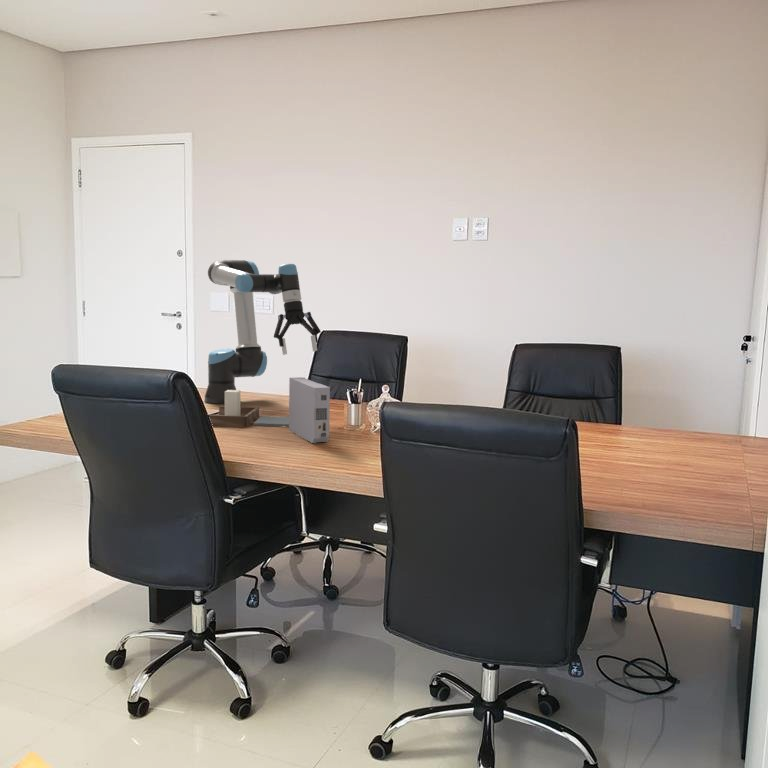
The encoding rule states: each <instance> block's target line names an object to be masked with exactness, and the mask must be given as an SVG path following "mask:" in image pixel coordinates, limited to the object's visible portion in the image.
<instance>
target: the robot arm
mask: <svg viewBox="0 0 768 768" xmlns="http://www.w3.org/2000/svg"><path fill="white" fill-rule="evenodd" d="M297 269H298V268H297V266H296V264H294V263H286V264H281V265H279V266H278V272H277V274H271V273H270V274H269V273H268V274H266V273H265V274H263V273H260V270H259V268H258V266H257V264H256V263H255V262H254V261H249V260H244V259H243V260H242V259H241V260H238V259H220V260H216V261H214V262H212V263H211V264H210V266H209V267H208V270H207V276H208V278H209V281H211V282H212V284H214V285H218V286H229V291H230V292H231V293H233V298H234V308H235V310H234V311H235V318H236V320H235V321H236V331H237V339H238V340H237V342H238V343H237V344H238V345H237V346H236V347H235V349H234V348H223V349H222V348H221V349H217V350H213V351H211V352H210V353H209V354H208V361H207V364H208V367H207V371H208V372H207V373H208V374H207V375H208V376H207V377H208V382H207V383H208V384H207V389H206V390H205V393H204V402H205V403H207V404H225V391H227V390H237V388H236V385H235V384H236V383H235V380H236V379H235V378H247V377H248V378H251V377H252V378H254V377H260V376H262V375H263V374H264V373H265V371H266V369H267V365H268V356H267V354H266V352H265V351H263V350H262V346H261V345H260V344H259V343H258V337H257V326H256V325H257V324H256V317H255V316H256V315H255V314H256V313H255V305H254V304H255V303H254V295H253V294H254V293H269V294H272V295H278V294H281V297H282V302H283V308H284V309H283V310H284V314H283V313H280V314H279V315H278V316H277V319H278V321H277V324H276V328H275V331H274V333H273V338H274V339H278V344H279V347H281V350H282V355H283V356H284V355H288V350H287V343H286V338H284V336H285V335H286V333H287V331H288V329H289V328H290V326H292V325H301V326H303V327H304V328H305V330H306V331H307V332H308V333H310V334H311V335H310V340H311V341H310V342H311V348H312V352H317V351H318V346H317V343H318V334H321V332H322V331H321V329H320V328H319V326H318V325H317V323H316V322H315V320H314V318H313V316H312V314H311V311H308V312H304V307H303V301H301V300H302V295H301V288H300V280H299V273H298V270H297ZM284 320H286V322H285V324H284V326H283V322H284ZM306 320H307V321H308V322H307V321H306ZM282 326H283V328H282ZM281 329H282V330H281Z"/></svg>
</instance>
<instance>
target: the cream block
mask: <svg viewBox="0 0 768 768" xmlns="http://www.w3.org/2000/svg"><path fill="white" fill-rule="evenodd" d="M224 406H225V415H232V416H240V407H241V390H240V389H236V390H227V391H225V403H224Z"/></svg>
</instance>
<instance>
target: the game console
mask: <svg viewBox="0 0 768 768" xmlns="http://www.w3.org/2000/svg"><path fill="white" fill-rule="evenodd" d="M288 385H289V386H288V387H289V390H288V391H289V392H288V393H289V395H288V396H289V397H288V417H289V427H288V430H289V431H290V432H292V433H293V432H294V434H295V433H296V434H295V435H297V436H298V435H299V436H298V437H300V436H301V437H300V438H302V439H303V438H304V439H303V440H305V439H306V440H305V441H307V440H308V441H310V442H311V443H310V442H309V443H310V444H312V443H313V444H317V443H316V442H328V440H329V439H330V406H331V405H330V404H331V403H330V401H331V400H330V399H331V387H330V386H327V385H325V384H323V383H318V382H316V381H313V380H310V379H308V378H306V377H297V376H296V377H289V384H288ZM308 441H307V442H308Z"/></svg>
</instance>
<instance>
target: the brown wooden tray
mask: <svg viewBox="0 0 768 768" xmlns="http://www.w3.org/2000/svg"><path fill="white" fill-rule="evenodd" d="M218 412H219V413H218V414H208V415H209V417H210V419H211V422H212V424H213V427H234V426H238V427H239V428H240V427H241V428H247V427H249V426H250V425H251V424H252V423H254V422H255V421H256V420H258V419H259V418H260V407H258V406H240V416H232V415H225V405H219V407H218ZM258 417H259V418H258ZM253 421H254V422H253ZM248 425H249V426H248Z"/></svg>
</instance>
